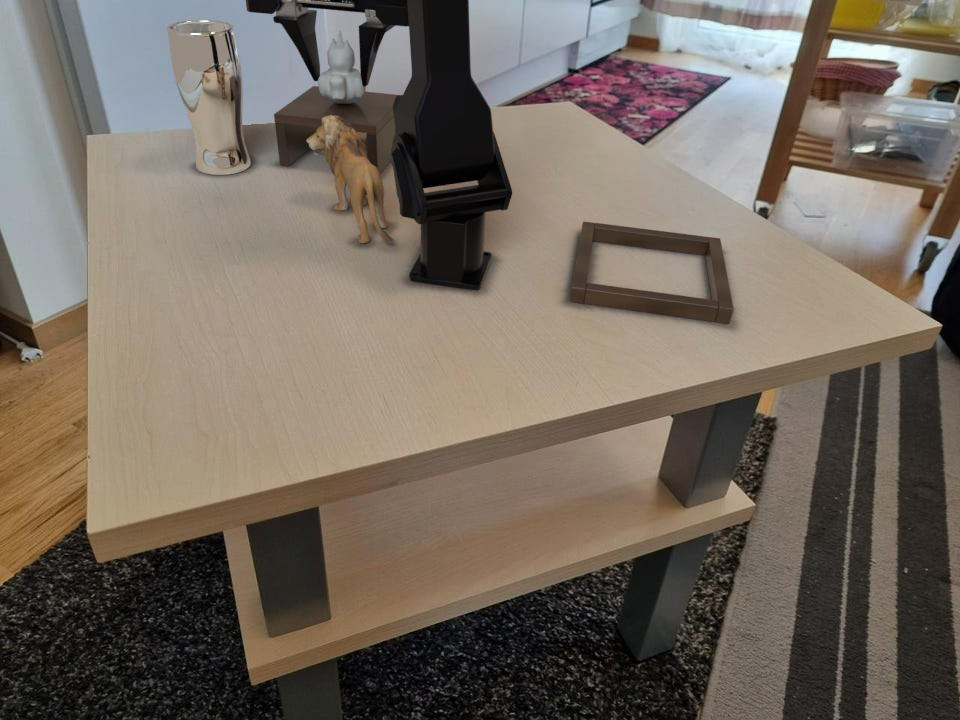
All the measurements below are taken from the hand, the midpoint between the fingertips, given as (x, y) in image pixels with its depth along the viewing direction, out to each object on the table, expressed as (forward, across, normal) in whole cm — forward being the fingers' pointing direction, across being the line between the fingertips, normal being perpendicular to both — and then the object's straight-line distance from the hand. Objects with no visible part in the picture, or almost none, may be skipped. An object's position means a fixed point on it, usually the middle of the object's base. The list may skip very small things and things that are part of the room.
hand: (341, 82), depth 83 cm
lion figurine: (+9, -7, +17) cm, 20 cm away
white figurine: (+3, 0, 0) cm, 3 cm away
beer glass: (+9, +12, +8) cm, 17 cm away
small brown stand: (+8, 0, 0) cm, 9 cm away
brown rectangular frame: (+9, -37, +21) cm, 43 cm away
